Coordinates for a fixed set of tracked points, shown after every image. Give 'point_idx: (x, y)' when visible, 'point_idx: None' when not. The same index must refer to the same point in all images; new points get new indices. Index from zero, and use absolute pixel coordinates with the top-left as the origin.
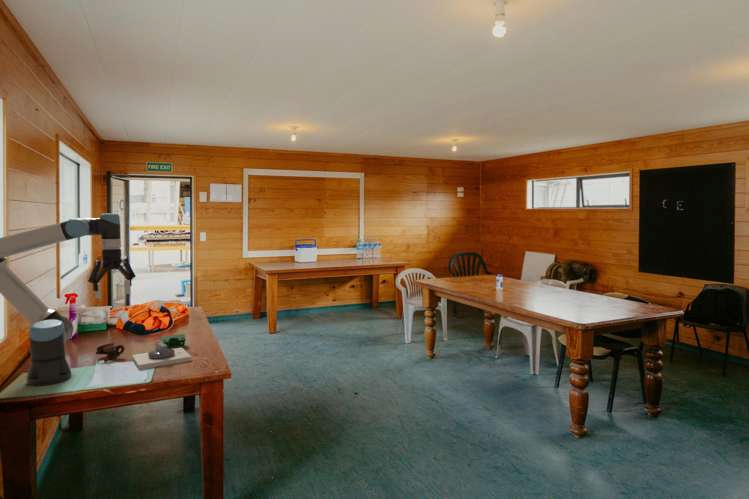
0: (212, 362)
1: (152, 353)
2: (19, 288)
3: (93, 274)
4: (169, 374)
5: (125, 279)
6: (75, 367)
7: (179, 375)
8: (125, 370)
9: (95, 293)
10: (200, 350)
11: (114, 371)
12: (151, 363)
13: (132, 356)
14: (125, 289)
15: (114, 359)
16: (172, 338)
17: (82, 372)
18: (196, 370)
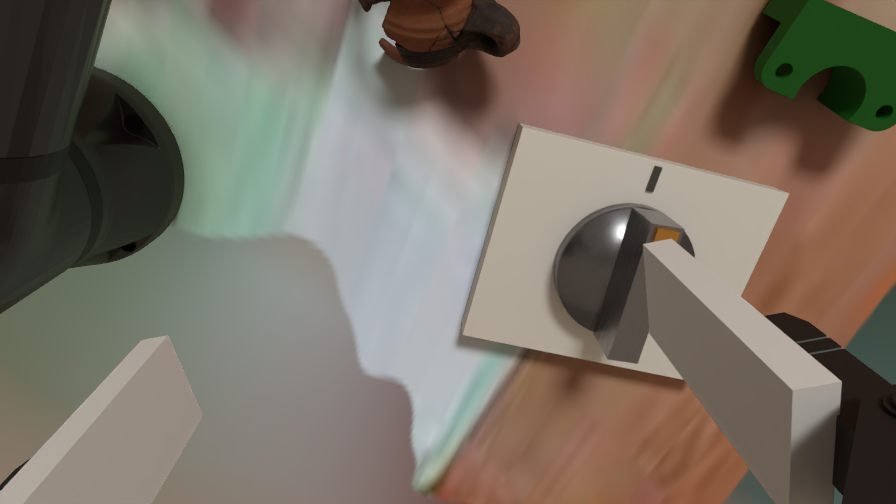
0: (725, 450)
1: (580, 265)
2: None
3: None
4: (519, 466)
5: (817, 385)
6: (228, 34)
7: (538, 499)
8: (412, 291)
9: (103, 389)
10: (842, 243)
11: (368, 268)
12: (519, 345)
13: (518, 138)
14: (674, 283)
15: (439, 65)
16: (846, 64)
17: (241, 166)
18: (616, 492)
